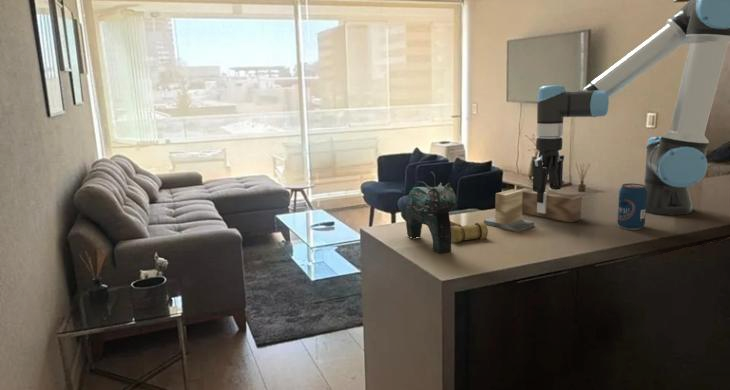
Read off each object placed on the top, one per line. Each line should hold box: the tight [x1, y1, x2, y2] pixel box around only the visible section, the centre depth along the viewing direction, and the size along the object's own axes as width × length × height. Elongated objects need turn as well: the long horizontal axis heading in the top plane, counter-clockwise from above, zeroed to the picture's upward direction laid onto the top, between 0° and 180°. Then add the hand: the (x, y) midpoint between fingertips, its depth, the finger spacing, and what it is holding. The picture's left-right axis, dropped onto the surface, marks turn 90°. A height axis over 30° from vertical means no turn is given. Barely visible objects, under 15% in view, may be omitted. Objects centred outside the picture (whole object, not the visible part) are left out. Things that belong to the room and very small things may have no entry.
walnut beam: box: [518, 187, 583, 223], centre depth 160 cm, size 20×5×7 cm, turn 38°
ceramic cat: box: [405, 171, 457, 254], centre depth 134 cm, size 20×6×20 cm, turn 23°
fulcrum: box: [483, 188, 535, 232], centre depth 150 cm, size 12×8×10 cm, turn 38°
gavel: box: [450, 220, 489, 244], centre depth 147 cm, size 21×5×10 cm
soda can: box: [616, 183, 647, 231], centre depth 143 cm, size 7×7×12 cm
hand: (546, 210), depth 160 cm, fingers closed on walnut beam, 5 cm apart
